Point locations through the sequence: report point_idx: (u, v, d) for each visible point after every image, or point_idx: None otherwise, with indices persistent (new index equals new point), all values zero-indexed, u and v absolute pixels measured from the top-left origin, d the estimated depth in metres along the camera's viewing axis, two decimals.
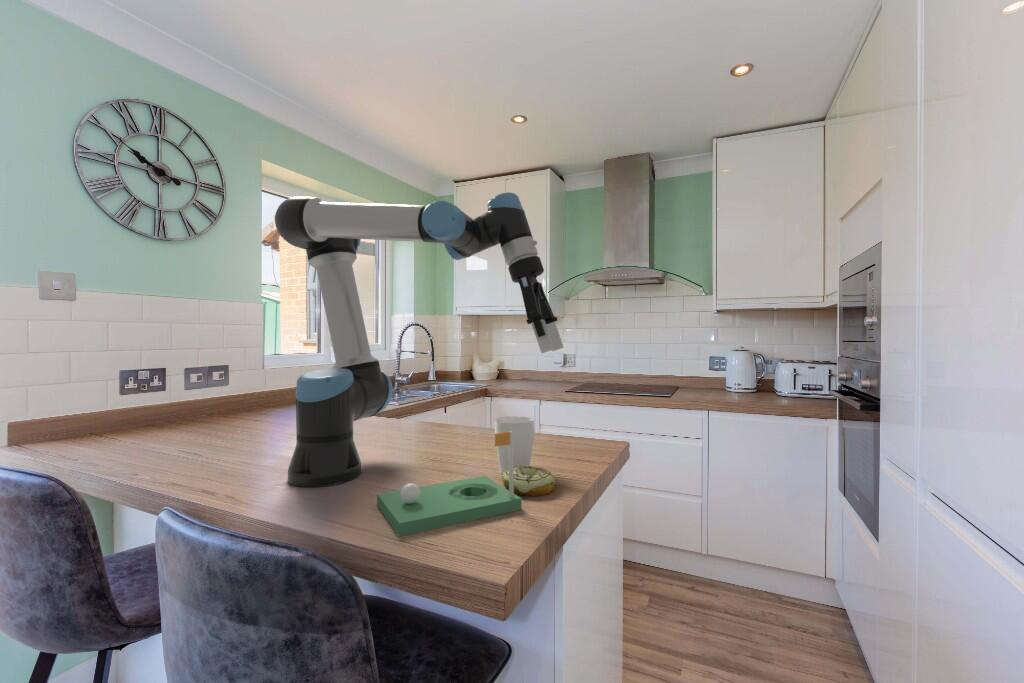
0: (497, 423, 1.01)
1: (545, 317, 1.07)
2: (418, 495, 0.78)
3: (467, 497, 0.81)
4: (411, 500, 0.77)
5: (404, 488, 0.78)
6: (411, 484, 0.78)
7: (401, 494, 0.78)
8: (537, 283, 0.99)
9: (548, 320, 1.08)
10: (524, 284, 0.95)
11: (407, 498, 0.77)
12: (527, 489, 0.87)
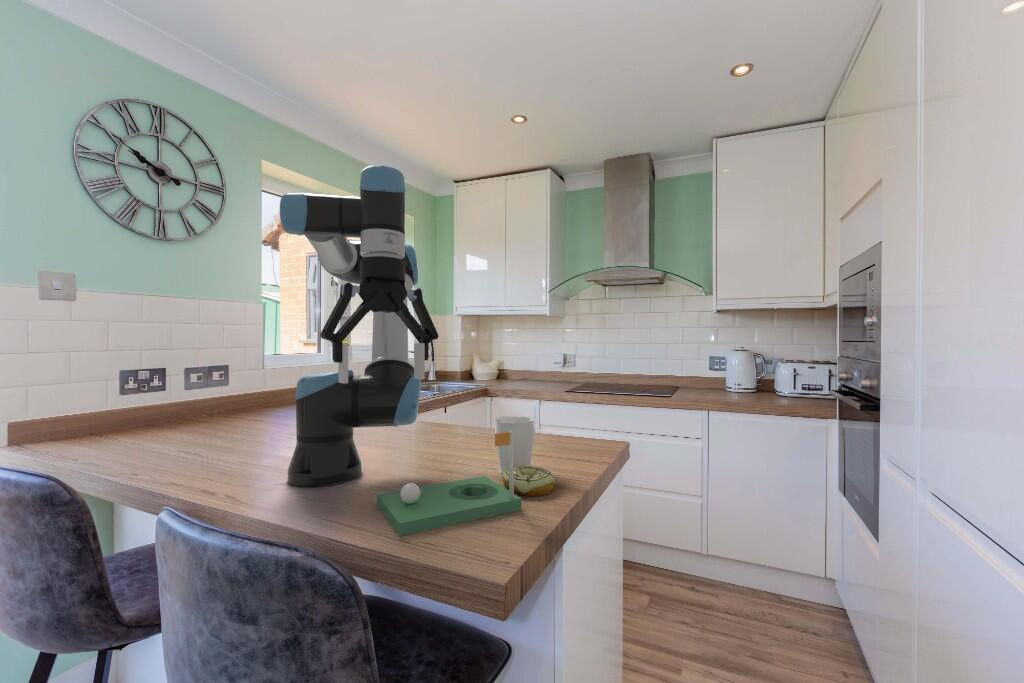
0: (497, 423, 1.01)
1: (415, 334, 0.82)
2: (418, 495, 0.78)
3: (467, 497, 0.81)
4: (411, 500, 0.77)
5: (404, 488, 0.78)
6: (411, 484, 0.78)
7: (401, 494, 0.78)
8: (376, 292, 0.76)
9: (421, 339, 0.83)
10: (342, 292, 0.75)
11: (407, 498, 0.77)
12: (527, 489, 0.87)
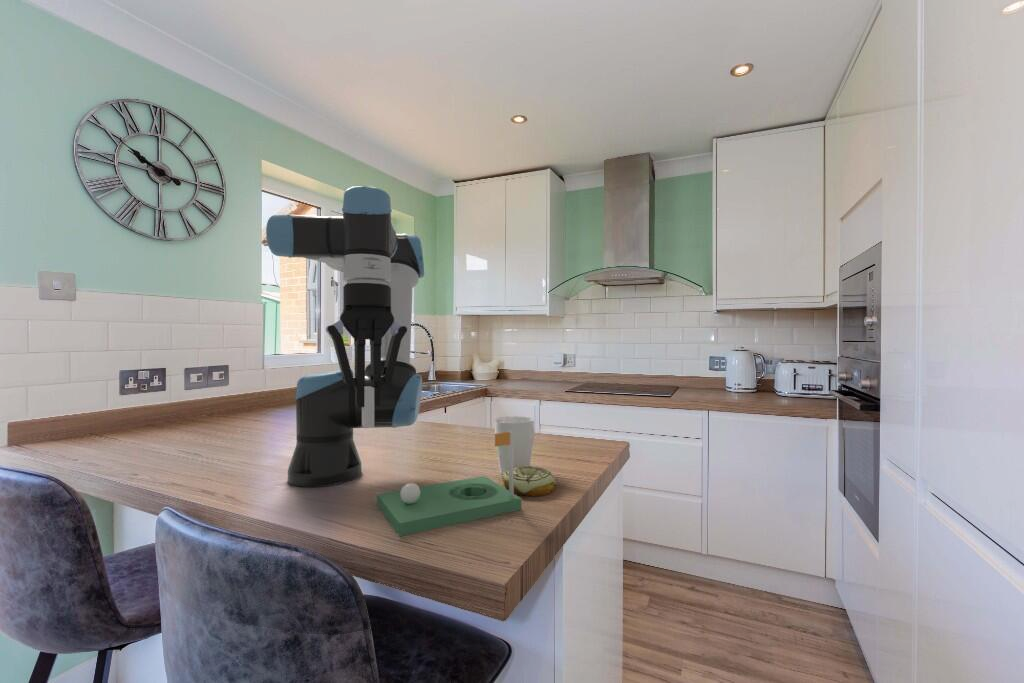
0: (497, 423, 1.01)
1: (371, 372, 0.75)
2: (418, 495, 0.78)
3: (467, 497, 0.81)
4: (411, 500, 0.77)
5: (404, 488, 0.78)
6: (411, 484, 0.78)
7: (401, 494, 0.78)
8: (358, 323, 0.72)
9: None
10: (331, 336, 0.72)
11: (407, 498, 0.77)
12: (527, 489, 0.87)
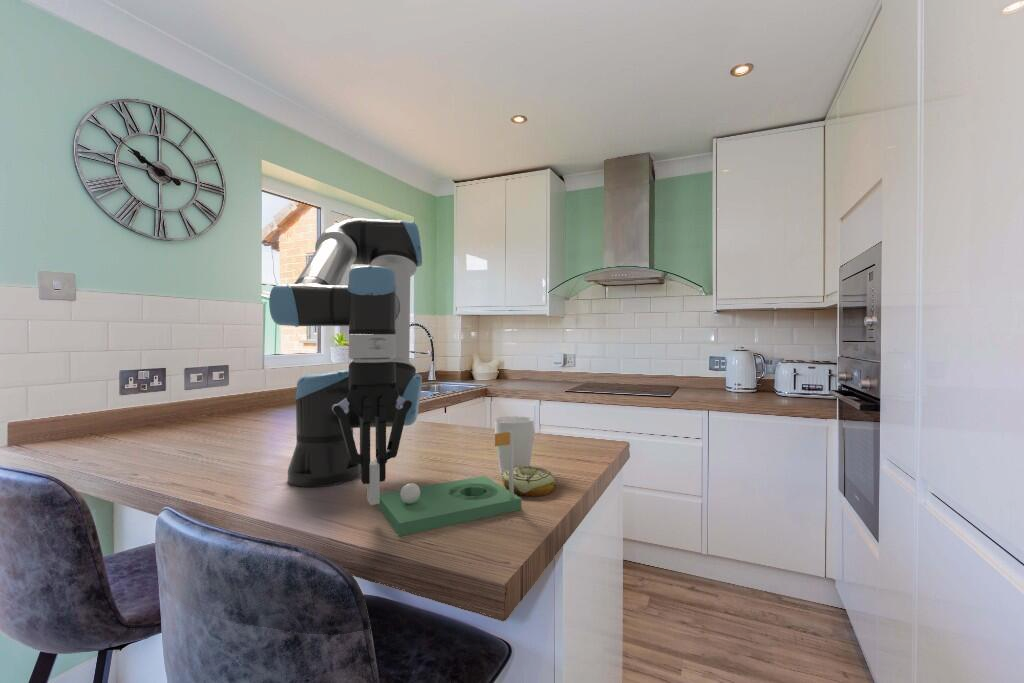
0: (497, 423, 1.01)
1: (376, 447, 0.76)
2: (418, 495, 0.78)
3: (467, 497, 0.81)
4: (411, 500, 0.77)
5: (404, 488, 0.78)
6: (411, 484, 0.78)
7: (401, 494, 0.78)
8: (363, 402, 0.73)
9: None
10: None
11: (407, 498, 0.77)
12: (527, 489, 0.87)
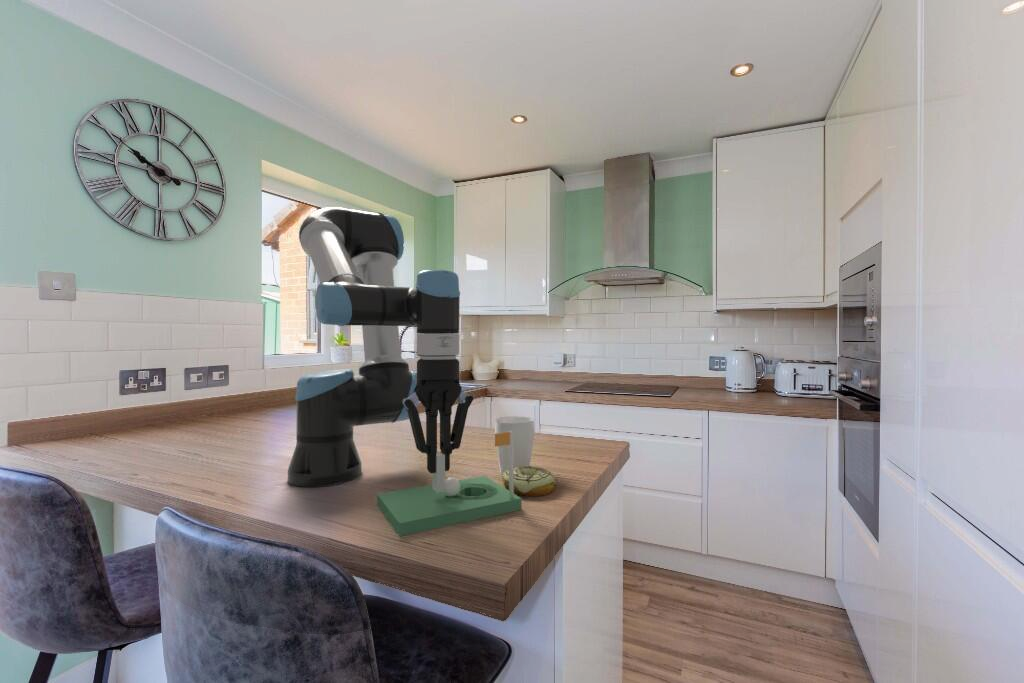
0: (497, 423, 1.01)
1: (441, 439, 0.81)
2: (451, 483, 0.81)
3: (467, 497, 0.81)
4: (457, 488, 0.81)
5: None
6: None
7: None
8: (431, 397, 0.78)
9: (443, 446, 0.81)
10: (407, 408, 0.78)
11: (456, 492, 0.81)
12: (527, 489, 0.87)
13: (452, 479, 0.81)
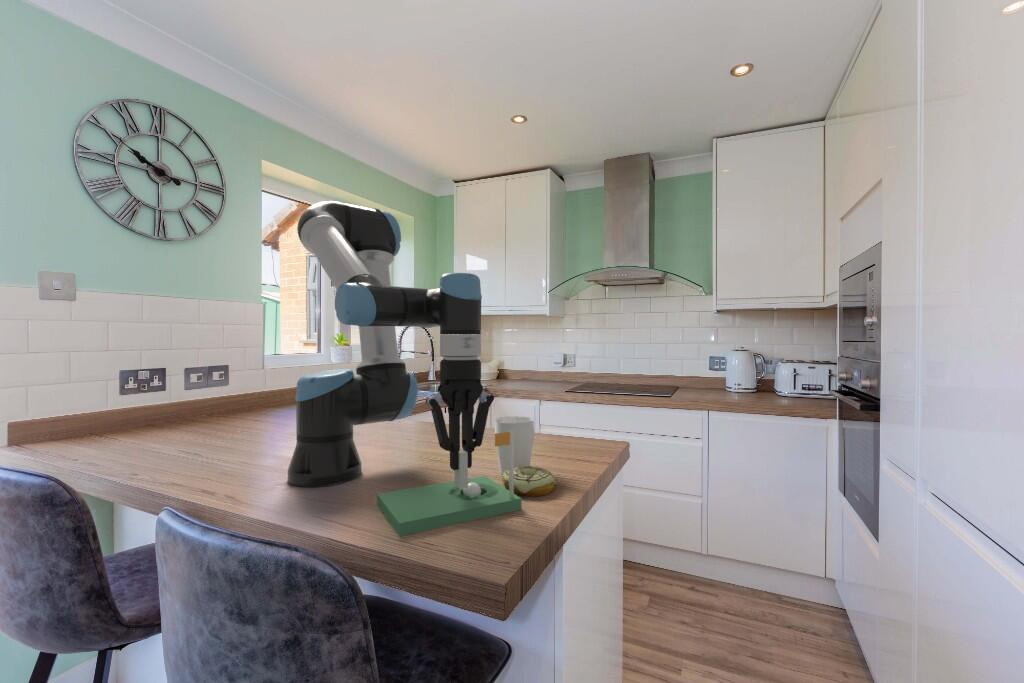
0: (497, 423, 1.01)
1: (463, 437, 0.84)
2: (476, 495, 0.84)
3: (467, 497, 0.81)
4: (470, 490, 0.84)
5: None
6: (479, 487, 0.86)
7: (468, 483, 0.86)
8: (454, 396, 0.81)
9: (465, 444, 0.84)
10: (431, 407, 0.80)
11: (470, 486, 0.84)
12: (527, 489, 0.87)
13: None
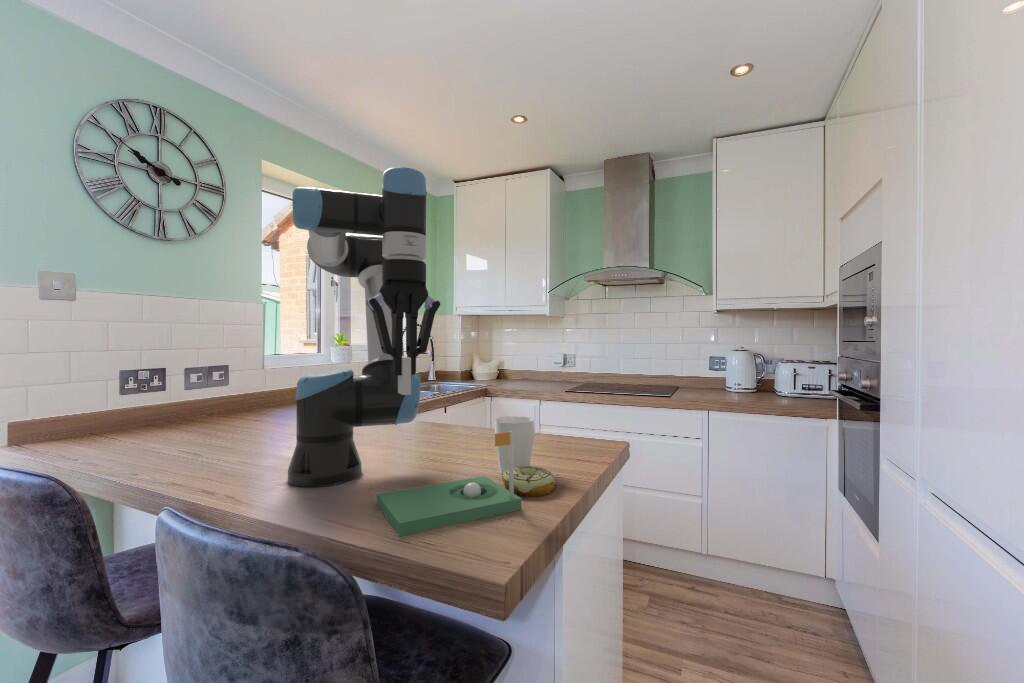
0: (497, 423, 1.01)
1: (407, 343, 0.81)
2: (476, 495, 0.84)
3: (467, 497, 0.81)
4: (470, 491, 0.84)
5: None
6: (479, 487, 0.86)
7: (468, 483, 0.85)
8: (397, 297, 0.77)
9: (409, 350, 0.81)
10: (372, 308, 0.77)
11: (470, 486, 0.84)
12: (527, 489, 0.87)
13: None
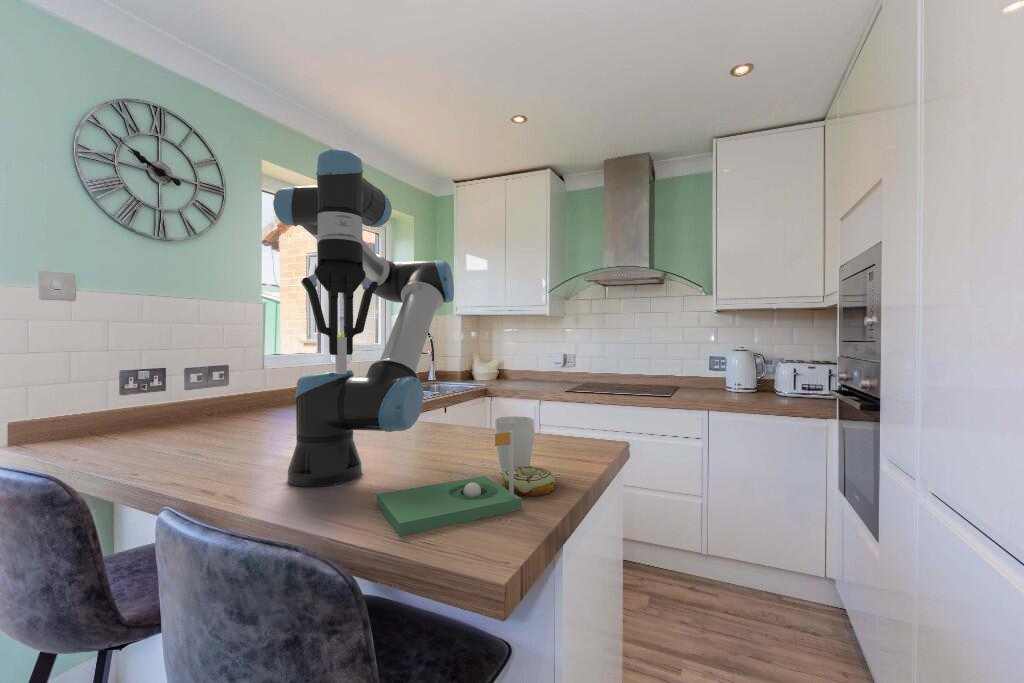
0: (497, 423, 1.01)
1: (344, 323, 0.81)
2: (476, 495, 0.84)
3: (467, 497, 0.81)
4: (470, 491, 0.84)
5: None
6: (479, 487, 0.86)
7: (468, 483, 0.85)
8: (330, 277, 0.78)
9: (346, 330, 0.81)
10: (306, 288, 0.78)
11: (470, 486, 0.84)
12: (527, 489, 0.87)
13: None
